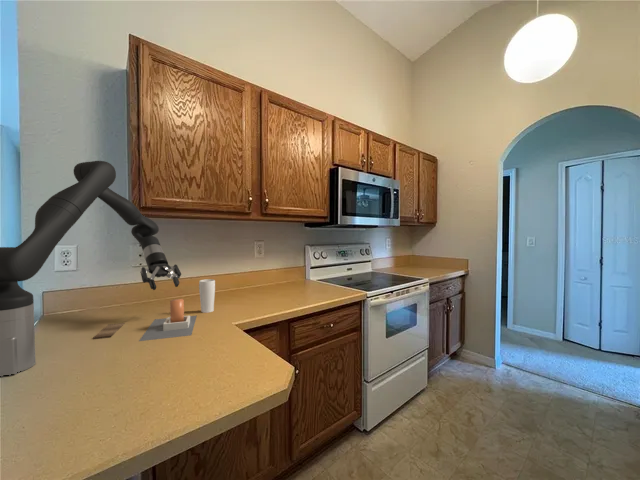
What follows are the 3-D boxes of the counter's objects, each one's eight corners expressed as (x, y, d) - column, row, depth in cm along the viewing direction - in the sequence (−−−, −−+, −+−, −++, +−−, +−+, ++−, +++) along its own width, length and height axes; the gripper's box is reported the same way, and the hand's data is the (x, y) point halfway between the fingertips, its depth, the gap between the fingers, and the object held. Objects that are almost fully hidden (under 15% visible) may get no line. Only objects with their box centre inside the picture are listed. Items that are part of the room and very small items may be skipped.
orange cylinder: (183, 327, 106) (182, 301, 106) (169, 328, 105) (169, 302, 104) (184, 323, 110) (184, 298, 110) (171, 324, 109) (171, 299, 109)
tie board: (191, 338, 98) (191, 328, 98) (138, 344, 93) (138, 333, 93) (196, 317, 121) (196, 309, 121) (154, 321, 116) (154, 313, 115)
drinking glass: (196, 313, 126) (195, 281, 126) (208, 310, 132) (208, 278, 132) (206, 316, 123) (206, 282, 123) (218, 312, 129) (218, 279, 129)
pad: (140, 334, 102) (139, 332, 102) (93, 339, 97) (93, 337, 97) (149, 322, 115) (149, 320, 115) (108, 326, 110) (108, 324, 110)
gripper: (138, 252, 113) (149, 284, 106) (174, 250, 124) (187, 279, 117) (134, 264, 117) (144, 295, 110) (170, 261, 128) (181, 290, 121)
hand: (166, 287), depth 113 cm, fingers open, 8 cm apart
